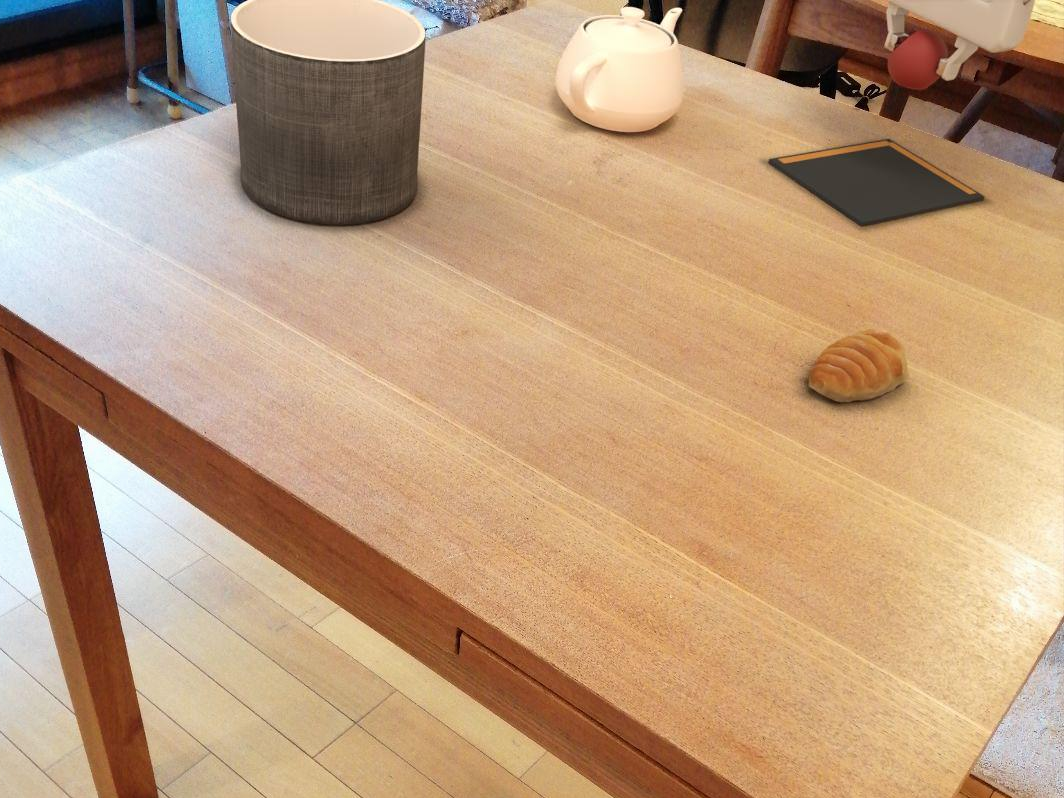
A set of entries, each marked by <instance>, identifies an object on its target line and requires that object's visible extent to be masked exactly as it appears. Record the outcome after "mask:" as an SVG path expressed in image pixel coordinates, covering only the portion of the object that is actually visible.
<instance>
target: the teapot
mask: <svg viewBox="0 0 1064 798" xmlns="http://www.w3.org/2000/svg"><path fill="white" fill-rule="evenodd" d="M682 13H683V9H682V8H681V7H673V8H671V9H670V10H668V11H666V14H665V15H664V17H663V19H662V21H661V22H660V24H658V23H656V22H653V21H650V20H647V19H643V18H644V17H645V16H646V15H645V11H644V10H643V9H641V8H637V7H633V6H625V7H622V8H621V9H620V14H621V15H619V14H603V15H596V16H591V17H589V18H586V19H585V20H584V21H582V22H581V24H580V25H579V26H578V28H577V29H576V31H575V32H574V33H573V36H572V37H571V38H570V41H569V42H568V44H567V45H566V48H565V49H564V51H563V53H562V55H561V57H560V60H559V62H558V65H557V68H556V72H555V78H554V79H555V80H554V81H555V82H554V85H555V88H556V91H557V94H558V97H559V98H560V99H561V101H562V102H563V103H564V105H565V107H567V108H568V110H569V111H570V112H571V114H572V115H573V116H575V117H576V118H577V119H579V120H580V121H581V122H584V123H586V124H588V125H591V126H594V127H596V128H599V129H603V130H607V131H613V132H619V133H639V132H646V131H650V130H652V129H655V128H656V127H658V126H659V125H661V124H662V123H664V122H666V121H668V120H669V119H670V118H671V117H673V116H674V115H675V114H676V113H677V112H678V111H679V109H680V108H681V105H682V104H683V101H684V98H685V92H686V91H685V88H686V85H685V83H686V81H685V70H684V63H683V58H682V53H681V50H680V49H681V48H680V45H679V41H678V39H677V38H678V37H676V35H675V33H674V31H675V27H676V23H677V21H678V20H679V17H680V16H681V14H682Z"/></svg>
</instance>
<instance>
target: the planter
mask: <svg viewBox="0 0 1064 798" xmlns="http://www.w3.org/2000/svg"><path fill="white" fill-rule="evenodd" d="M229 20H230V34H231V48H232V49H231V51H232V63H233V78H234V91H235V104H236V106H235V107H236V120H237V134H238V147H239V149H238V150H239V160H240V167H239V168H240V169H239V170H240V171H239V172H240V183H241V187H242V189H243V190H244V192H245V193H246V195H247V196H248V197H249V198H250V199H251V200H252V201H253V202H255V203H256V204H258V205H259V206H261V207H262V208H265V209H266V210H268V211H270V212H272V213H274V214H277V215H280V216H283V217H285V218H288V219H293V220H296V221H302V222H305V223H306V222H307V223H312V224H313V223H314V224H321V225H355V224H357V225H358V224H365V223H371V222H375V221H379V220H382V219H386V218H389V217H391V216H394V215H396V214H398V213H400V212H401V211H403V210H404V209H406V208H407V207H408V206H409V205H411V203H412V202H413V201H414V199H415V198H416V196H417V194H418V193H417V192H418V166H419V155H420V154H419V152H420V137H421V136H420V135H421V124H422V123H421V122H422V105H423V104H422V103H423V90H424V89H423V87H424V73H425V72H424V71H425V56H426V41H427V39H426V38H427V31H426V29H425V26H424V24H423V23H422V22H421V21H420V20H419V19H418V18H417V17H416V16H414V15H413V14H411V13H410V12H408V11H406V10H404V9H402V8H401V7H398V6H396V5H393V4H390V3H388V2H385V1H382V0H246V1H243V2H242V3H240V4H238V5H237V6H236V7H235V8H234V9H233V10H232V12H231V14H230V19H229Z"/></svg>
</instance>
